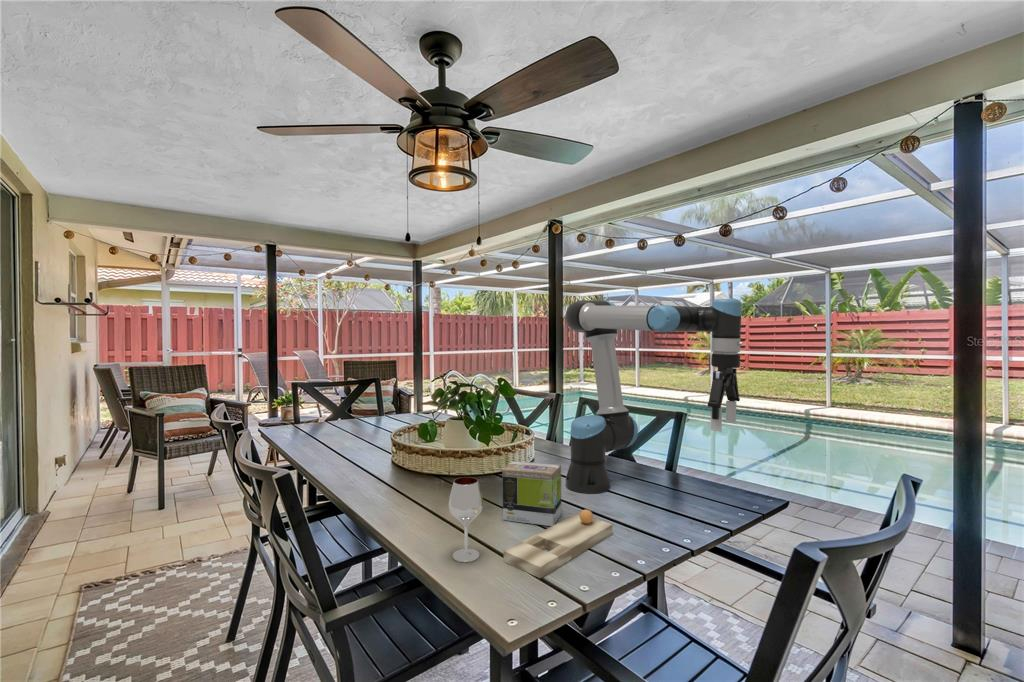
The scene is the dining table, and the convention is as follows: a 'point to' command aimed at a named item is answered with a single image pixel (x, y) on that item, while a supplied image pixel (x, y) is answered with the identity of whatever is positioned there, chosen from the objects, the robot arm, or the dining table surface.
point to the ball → (586, 516)
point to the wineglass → (465, 511)
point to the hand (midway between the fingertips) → (723, 426)
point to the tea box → (532, 492)
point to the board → (556, 545)
